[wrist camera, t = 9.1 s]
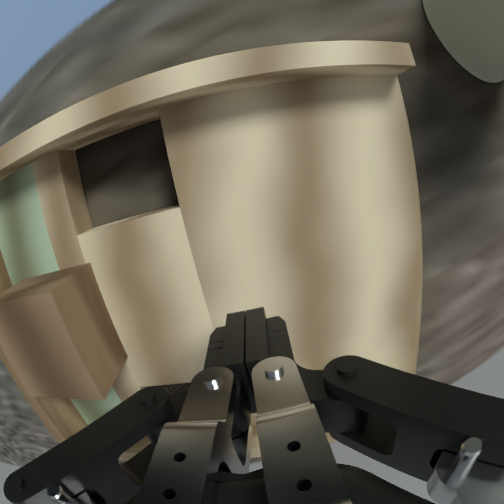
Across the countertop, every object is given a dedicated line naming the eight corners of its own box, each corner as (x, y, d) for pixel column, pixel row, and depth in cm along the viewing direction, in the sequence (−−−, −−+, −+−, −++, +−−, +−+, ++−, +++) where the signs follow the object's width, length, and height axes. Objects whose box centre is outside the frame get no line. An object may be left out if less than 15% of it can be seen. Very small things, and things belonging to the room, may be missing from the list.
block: (90, 262, 14) (50, 291, 10) (127, 356, 16) (104, 400, 12) (21, 280, 14) (-18, 306, 11) (57, 360, 16) (30, 395, 12)
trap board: (376, 64, 14) (419, 36, 9) (401, 379, 20) (428, 421, 15) (-8, 175, 14) (-57, 184, 10) (96, 423, 21) (77, 463, 16)
